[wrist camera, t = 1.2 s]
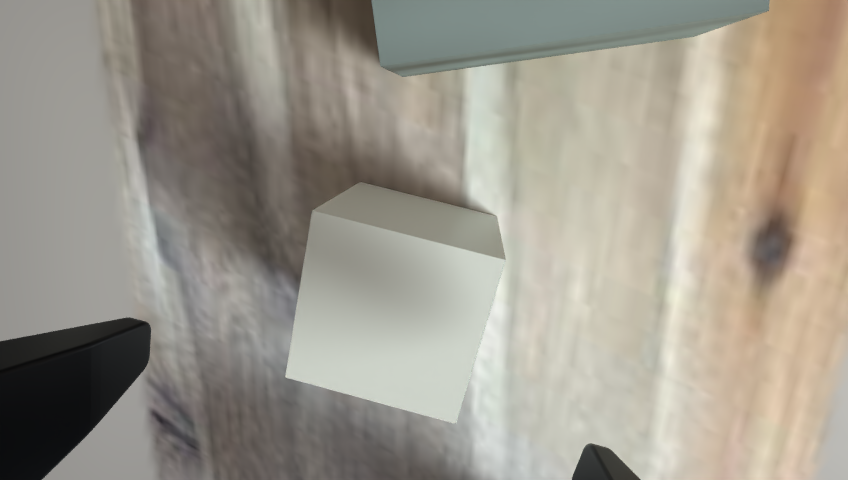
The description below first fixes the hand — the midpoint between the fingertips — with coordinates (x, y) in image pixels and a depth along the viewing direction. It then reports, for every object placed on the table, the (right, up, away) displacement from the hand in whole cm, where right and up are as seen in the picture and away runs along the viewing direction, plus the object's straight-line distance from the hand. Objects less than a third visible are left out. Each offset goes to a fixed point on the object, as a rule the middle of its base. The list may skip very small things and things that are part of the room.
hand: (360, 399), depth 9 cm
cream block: (+1, +2, +8) cm, 8 cm away
